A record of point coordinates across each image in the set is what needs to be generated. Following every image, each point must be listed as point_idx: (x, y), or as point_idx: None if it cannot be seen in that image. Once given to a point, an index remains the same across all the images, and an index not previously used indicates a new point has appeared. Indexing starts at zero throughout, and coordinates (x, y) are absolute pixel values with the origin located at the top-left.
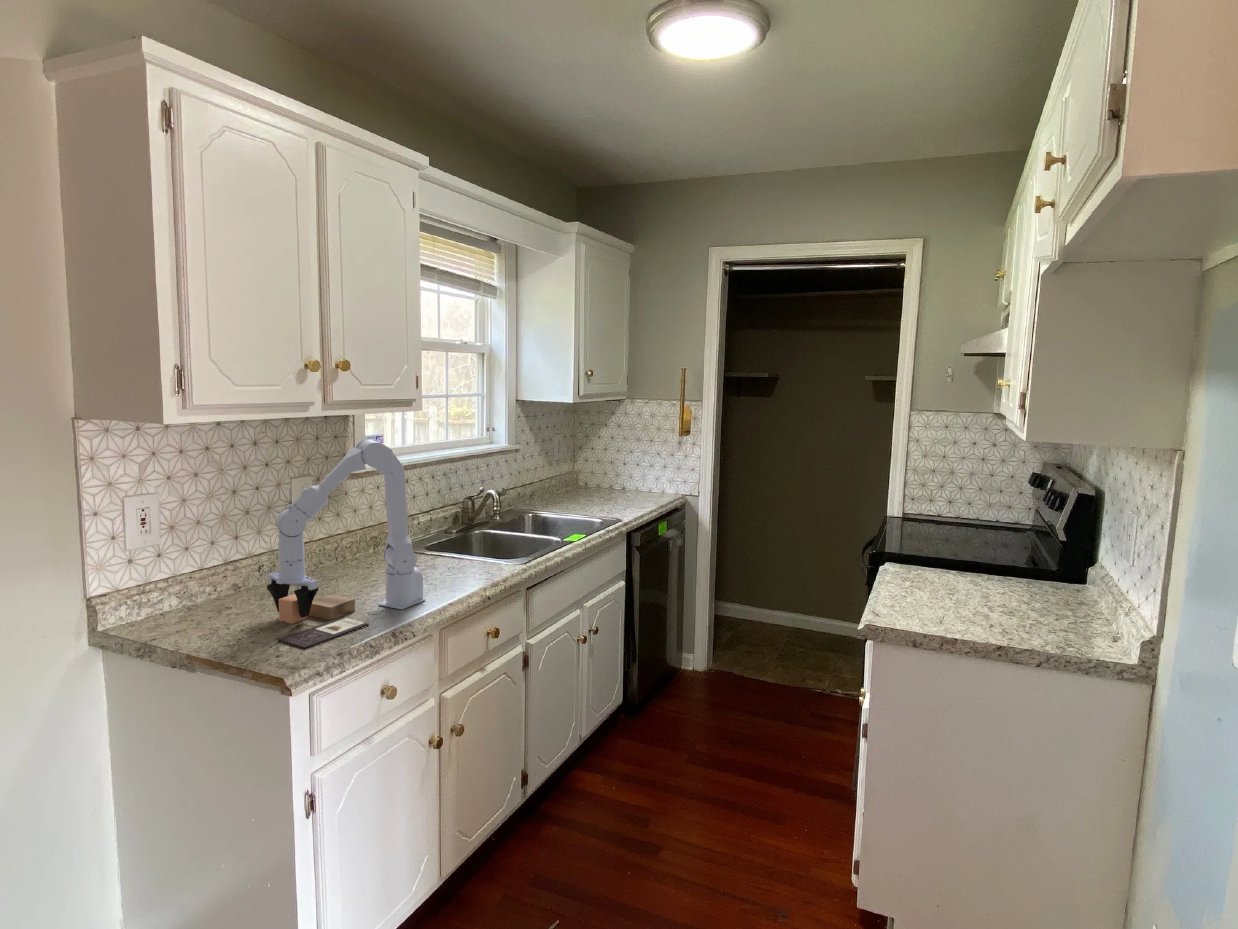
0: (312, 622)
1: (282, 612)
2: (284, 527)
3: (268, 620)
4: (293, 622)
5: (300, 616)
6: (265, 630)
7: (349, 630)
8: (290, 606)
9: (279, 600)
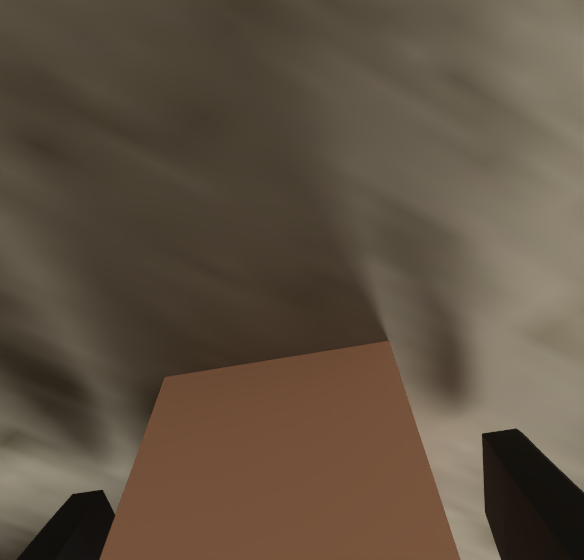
0: None
1: (339, 433)
2: None
3: (516, 269)
4: (166, 396)
5: (93, 498)
6: (152, 18)
7: None
8: None
9: None
